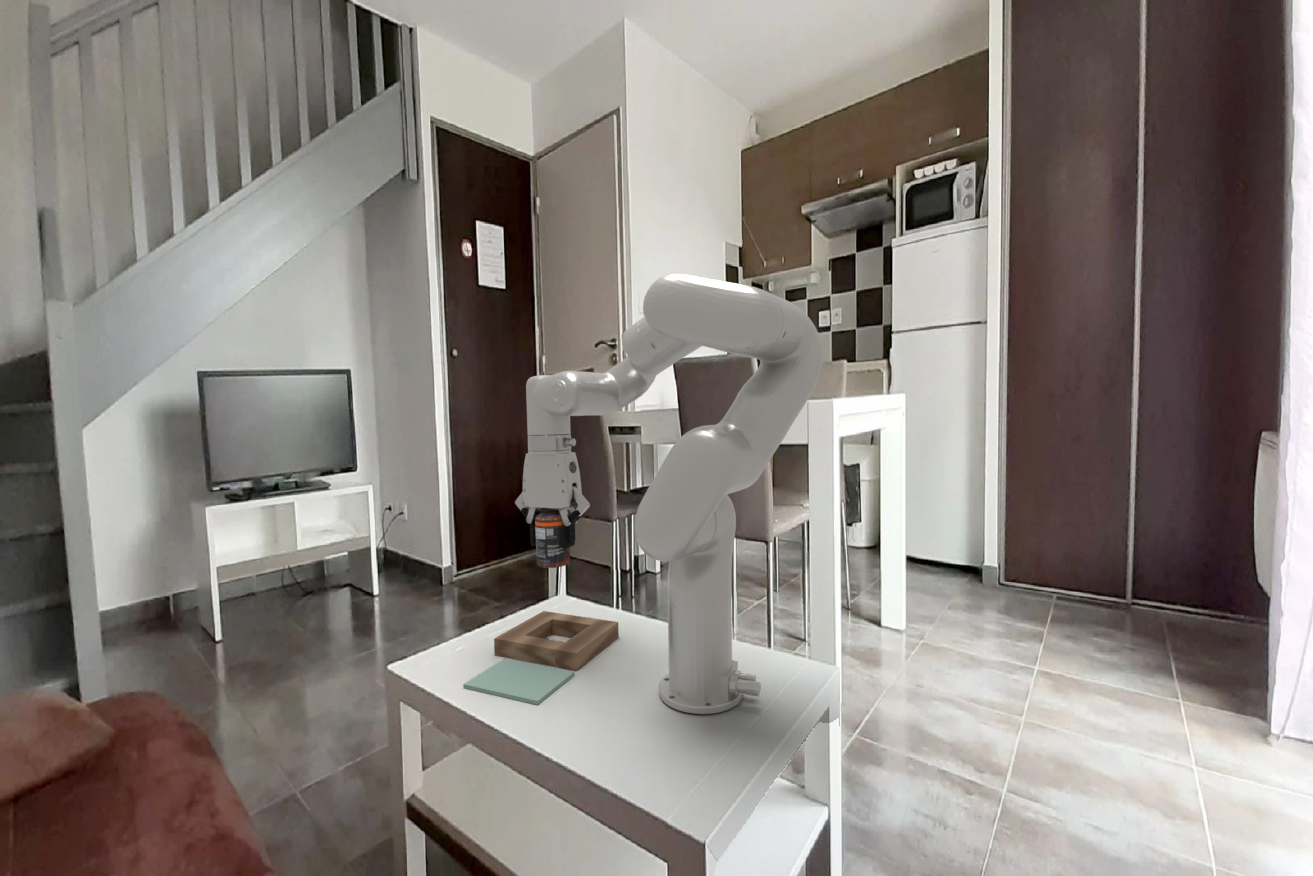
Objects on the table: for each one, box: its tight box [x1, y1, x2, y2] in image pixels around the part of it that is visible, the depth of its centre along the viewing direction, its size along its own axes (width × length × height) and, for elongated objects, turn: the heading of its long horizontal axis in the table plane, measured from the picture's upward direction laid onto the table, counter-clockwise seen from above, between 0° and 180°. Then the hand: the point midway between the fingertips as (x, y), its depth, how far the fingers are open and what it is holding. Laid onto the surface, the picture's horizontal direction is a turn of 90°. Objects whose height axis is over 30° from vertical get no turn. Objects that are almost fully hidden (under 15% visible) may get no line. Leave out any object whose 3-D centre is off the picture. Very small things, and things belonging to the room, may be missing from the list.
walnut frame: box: [493, 610, 620, 672], centre depth 102 cm, size 17×15×3 cm
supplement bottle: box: [535, 508, 571, 569], centre depth 100 cm, size 6×6×11 cm
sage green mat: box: [462, 657, 575, 706], centre depth 89 cm, size 14×10×1 cm
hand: (552, 544), depth 100 cm, fingers closed on supplement bottle, 6 cm apart
